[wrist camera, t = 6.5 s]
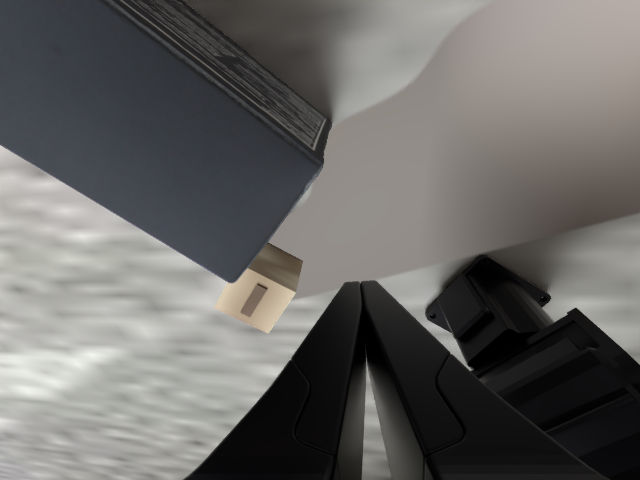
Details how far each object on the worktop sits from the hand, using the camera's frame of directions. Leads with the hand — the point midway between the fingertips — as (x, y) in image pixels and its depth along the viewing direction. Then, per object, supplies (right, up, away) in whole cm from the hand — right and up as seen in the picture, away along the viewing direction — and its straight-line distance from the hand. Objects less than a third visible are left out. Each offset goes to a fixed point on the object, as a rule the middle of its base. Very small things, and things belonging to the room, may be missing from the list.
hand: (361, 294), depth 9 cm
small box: (-6, +9, +11) cm, 15 cm away
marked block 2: (-5, -1, +15) cm, 16 cm away
